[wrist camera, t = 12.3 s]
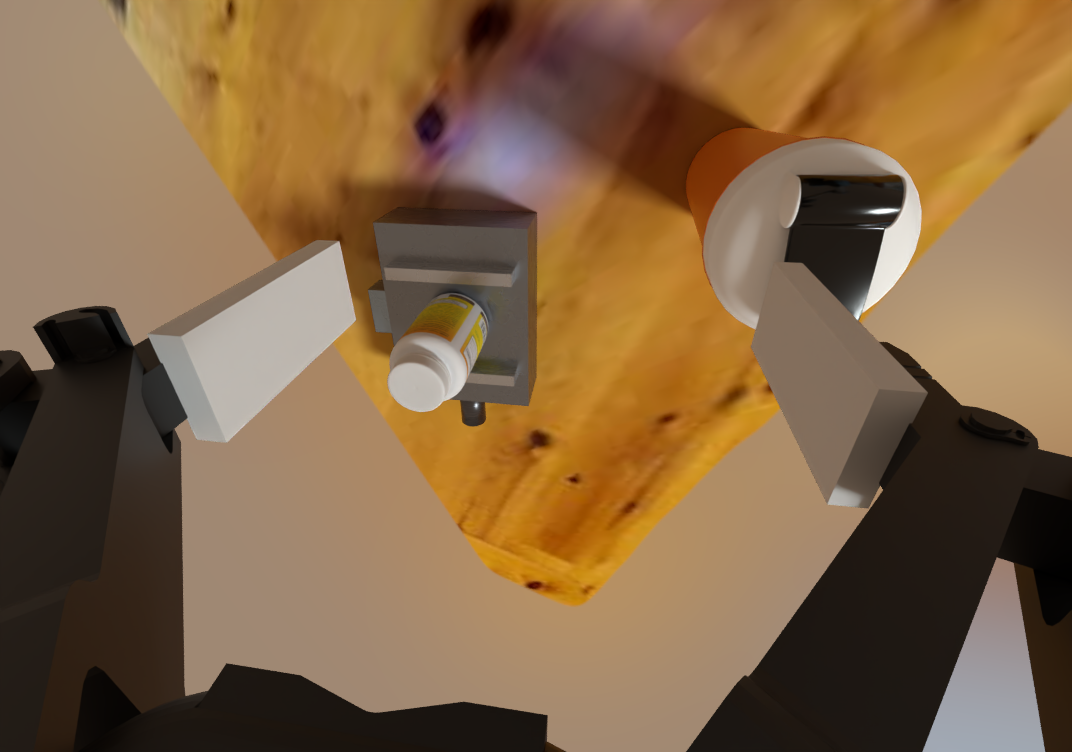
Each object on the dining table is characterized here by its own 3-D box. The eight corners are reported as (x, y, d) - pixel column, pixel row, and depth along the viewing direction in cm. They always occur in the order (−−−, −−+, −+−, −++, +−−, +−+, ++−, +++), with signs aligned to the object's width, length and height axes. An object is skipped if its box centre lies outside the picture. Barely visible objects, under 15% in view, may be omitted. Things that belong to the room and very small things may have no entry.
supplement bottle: (412, 311, 41) (357, 374, 32) (462, 278, 39) (417, 336, 30) (453, 361, 43) (413, 433, 34) (503, 332, 41) (473, 401, 32)
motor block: (375, 206, 42) (339, 226, 36) (536, 212, 40) (524, 234, 35) (407, 398, 52) (382, 436, 47) (536, 409, 51) (526, 450, 45)
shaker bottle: (674, 245, 40) (715, 370, 23) (670, 125, 35) (717, 172, 19) (793, 230, 38) (931, 354, 21) (804, 101, 34) (990, 128, 17)
